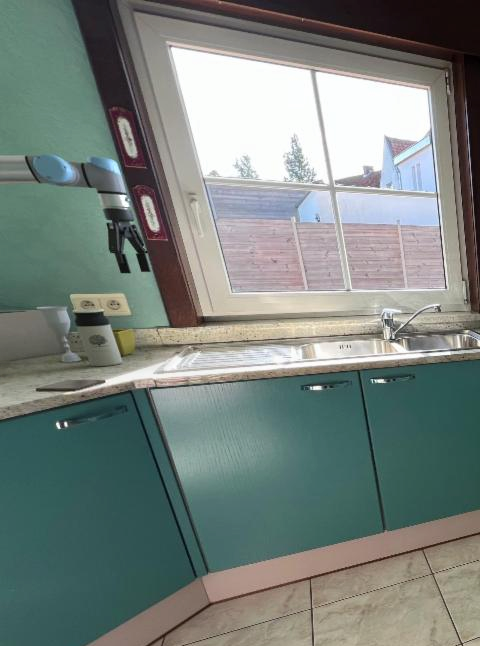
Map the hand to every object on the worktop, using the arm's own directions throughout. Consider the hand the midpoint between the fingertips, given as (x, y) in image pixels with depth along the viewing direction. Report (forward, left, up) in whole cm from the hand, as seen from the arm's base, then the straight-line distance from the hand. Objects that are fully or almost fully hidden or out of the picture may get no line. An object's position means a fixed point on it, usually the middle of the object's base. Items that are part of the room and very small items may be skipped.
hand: (136, 272), depth 180 cm
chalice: (-16, -19, -29) cm, 38 cm away
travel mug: (0, -25, -29) cm, 38 cm away
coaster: (+14, -55, -29) cm, 64 cm away
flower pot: (-8, -9, -29) cm, 31 cm away
